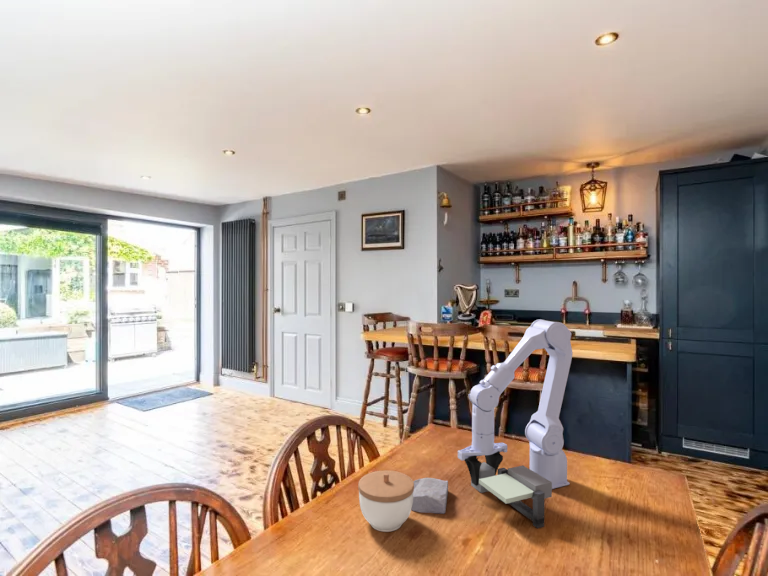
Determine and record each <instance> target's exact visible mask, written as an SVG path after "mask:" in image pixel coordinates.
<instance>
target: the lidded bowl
mask: <svg viewBox="0 0 768 576" xmlns="http://www.w3.org/2000/svg"><path fill="white" fill-rule="evenodd" d="M413 481H414V480H413V479H412V478H411V476H409V475H408V474H405V473H404V472H400V471H396V470H387V469H386V470H376V471H372V472H369V473H368V472H367V474H364V475H363V476H361V478H360V479H359V481H358V485H357V486H358V500H359V506H360V507H359V508H360V511H361V514H362V515H363V517H364V519H365V520H366V521H367V522H368V523H369V525H370V526H371V528H373V529H374V530H375V531H378V532H382V533H383V532H384V533H389V532H394V531H397V530H398V529H400V528H401V527H402V525H403V524H404V523H405V522H406V521H407V520H408V518H409V517H410V515H411V512H412V510H411V509H412V505H413V491H414V482H413Z"/></svg>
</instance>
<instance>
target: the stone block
mask: <svg viewBox="0 0 768 576" xmlns="http://www.w3.org/2000/svg"><path fill="white" fill-rule="evenodd" d="M413 482H414V491H413V505H412V509H411V511H412V512H418V513H426V514H428V513H430V514H441V515H445V514H446V509H447V503H448V501H447V500H448V494H449V481H448V480H442V479H439V478H434V477H423V478H417V479H415V480H413Z"/></svg>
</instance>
